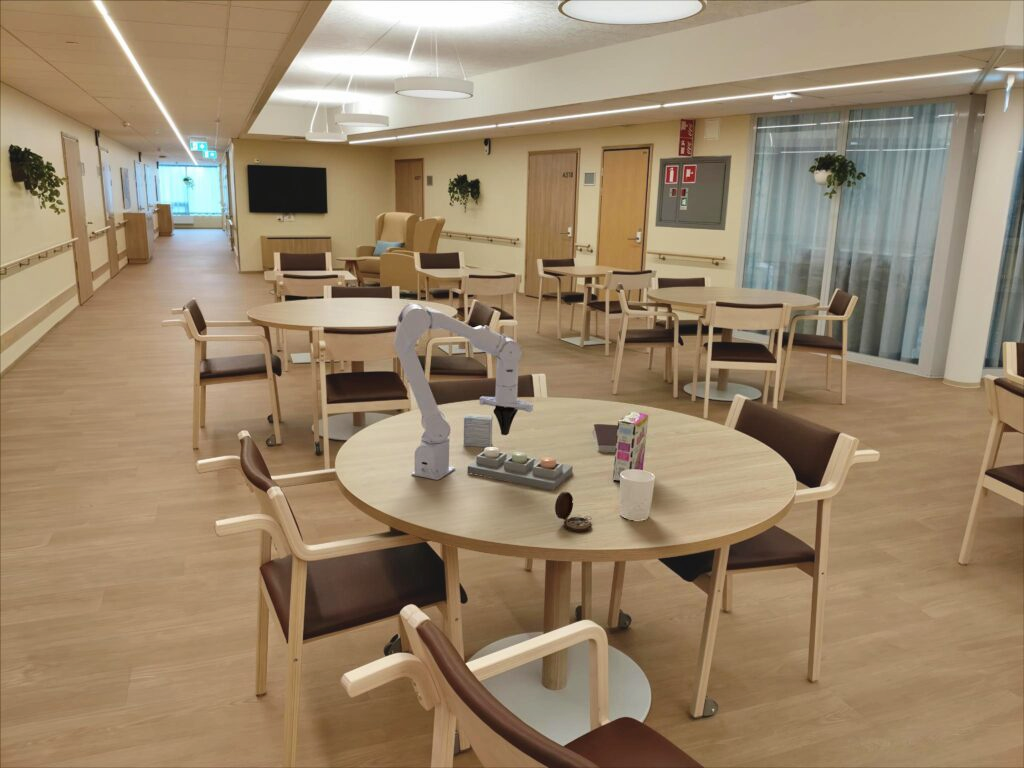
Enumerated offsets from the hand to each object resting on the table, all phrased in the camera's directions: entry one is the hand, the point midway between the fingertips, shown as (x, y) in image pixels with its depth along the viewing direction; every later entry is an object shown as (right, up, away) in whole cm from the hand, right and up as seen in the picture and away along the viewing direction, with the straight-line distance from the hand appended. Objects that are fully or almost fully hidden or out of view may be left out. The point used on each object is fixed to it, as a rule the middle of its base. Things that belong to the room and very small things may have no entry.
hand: (505, 434), depth 198 cm
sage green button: (+4, -7, -3) cm, 8 cm away
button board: (+4, -10, -1) cm, 11 cm away
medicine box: (-8, -5, +20) cm, 22 cm away
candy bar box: (+33, -11, 0) cm, 35 cm away
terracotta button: (+11, -8, -6) cm, 15 cm away
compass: (+16, -18, -31) cm, 39 cm away
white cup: (+30, -17, -25) cm, 43 cm away
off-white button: (-4, -6, 0) cm, 7 cm away
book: (+33, -5, +27) cm, 43 cm away
